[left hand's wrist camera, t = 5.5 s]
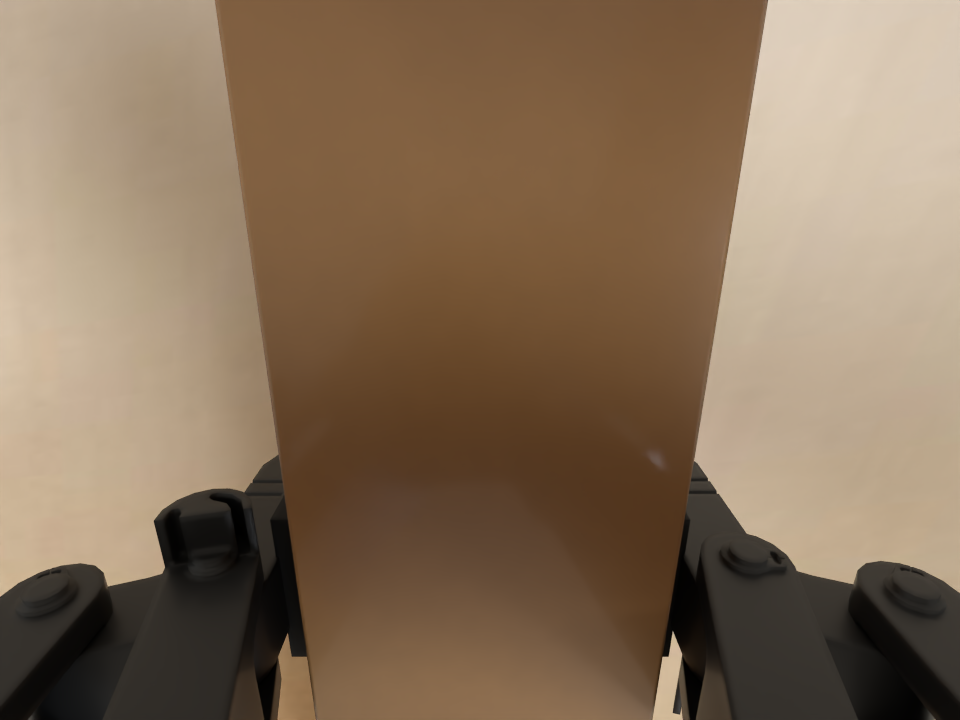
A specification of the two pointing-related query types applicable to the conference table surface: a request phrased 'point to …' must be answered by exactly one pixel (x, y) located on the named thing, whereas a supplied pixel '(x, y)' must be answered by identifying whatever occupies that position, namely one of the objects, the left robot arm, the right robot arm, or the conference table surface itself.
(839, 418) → the conference table surface
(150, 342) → the conference table surface
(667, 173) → the beam
